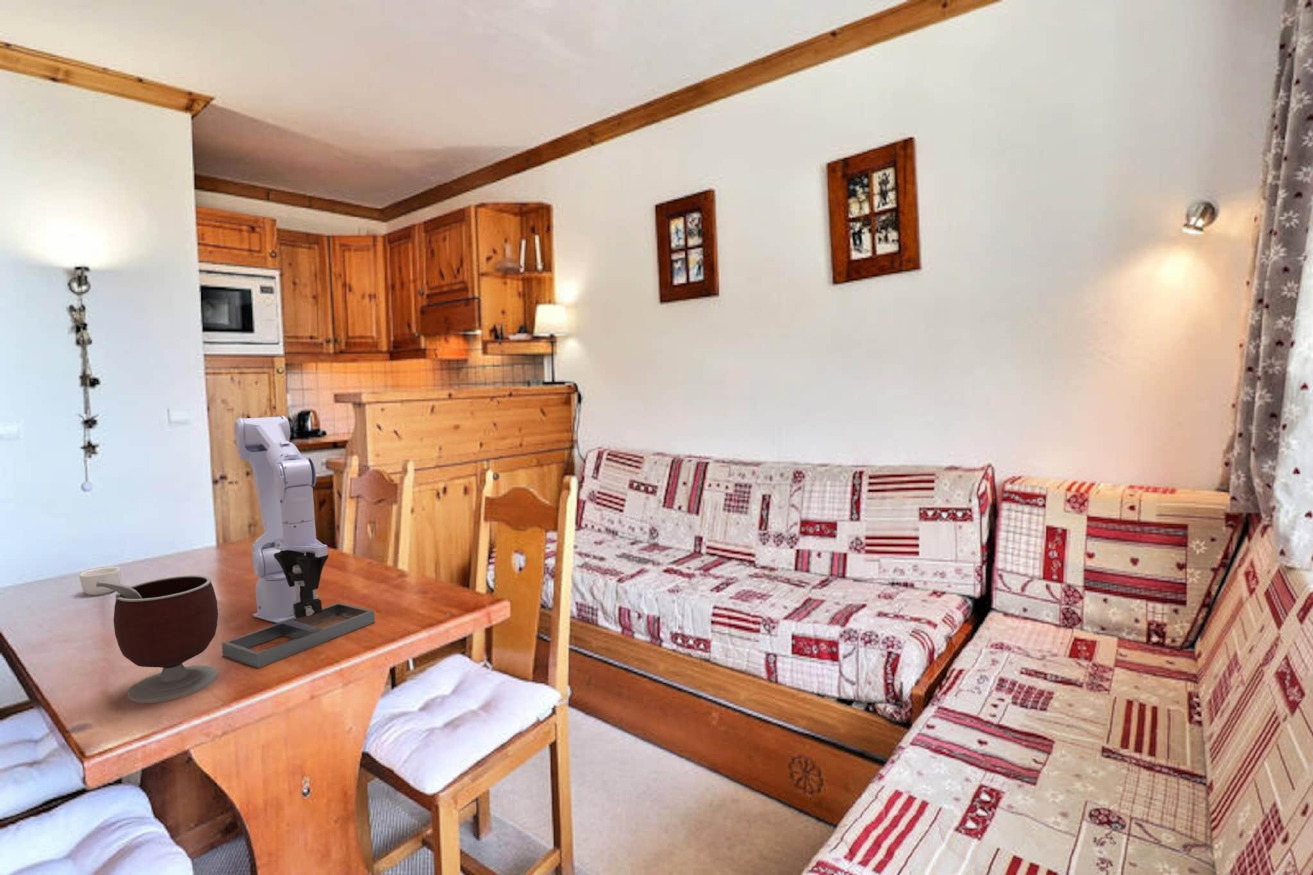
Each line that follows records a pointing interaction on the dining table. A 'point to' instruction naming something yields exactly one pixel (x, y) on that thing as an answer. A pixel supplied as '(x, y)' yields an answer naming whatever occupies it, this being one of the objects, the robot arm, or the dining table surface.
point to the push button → (303, 596)
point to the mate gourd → (166, 633)
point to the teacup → (99, 580)
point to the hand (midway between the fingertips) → (303, 587)
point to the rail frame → (297, 634)
